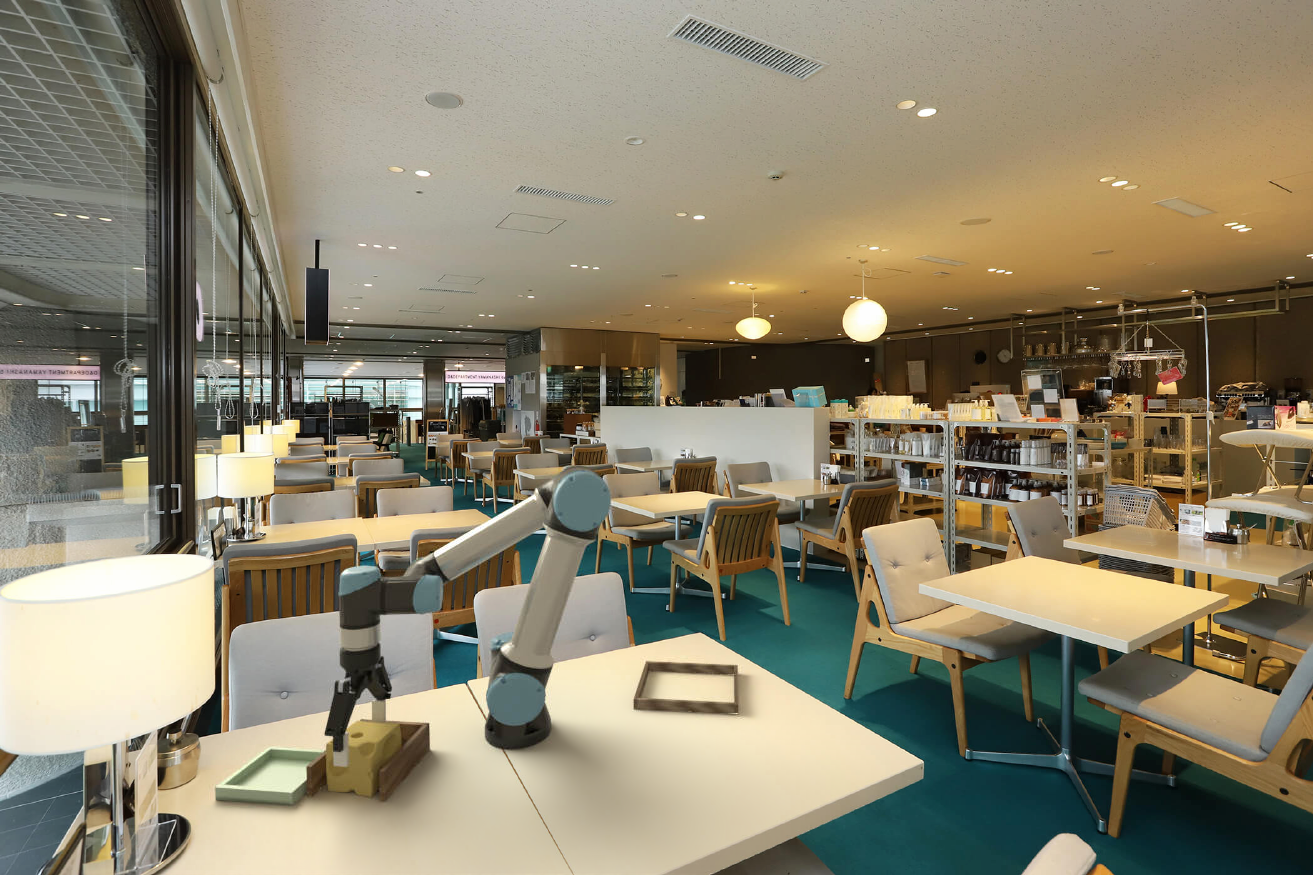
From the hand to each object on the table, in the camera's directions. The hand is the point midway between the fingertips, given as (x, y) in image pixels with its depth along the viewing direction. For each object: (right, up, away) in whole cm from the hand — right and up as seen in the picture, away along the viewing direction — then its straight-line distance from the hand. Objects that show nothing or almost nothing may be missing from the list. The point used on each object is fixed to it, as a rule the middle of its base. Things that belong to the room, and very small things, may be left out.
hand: (361, 747), depth 133 cm
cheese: (0, -7, +1) cm, 7 cm away
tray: (-17, -7, 0) cm, 18 cm away
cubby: (+1, -7, +4) cm, 8 cm away
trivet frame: (+69, -4, +41) cm, 80 cm away
